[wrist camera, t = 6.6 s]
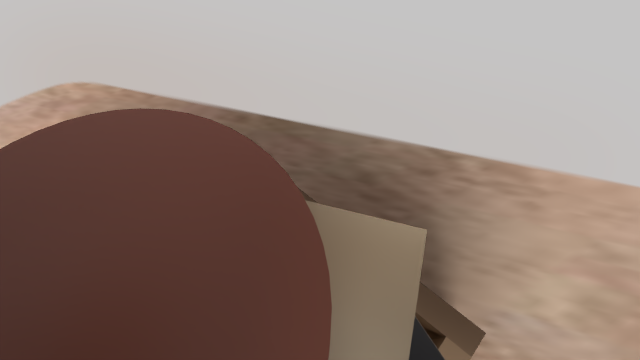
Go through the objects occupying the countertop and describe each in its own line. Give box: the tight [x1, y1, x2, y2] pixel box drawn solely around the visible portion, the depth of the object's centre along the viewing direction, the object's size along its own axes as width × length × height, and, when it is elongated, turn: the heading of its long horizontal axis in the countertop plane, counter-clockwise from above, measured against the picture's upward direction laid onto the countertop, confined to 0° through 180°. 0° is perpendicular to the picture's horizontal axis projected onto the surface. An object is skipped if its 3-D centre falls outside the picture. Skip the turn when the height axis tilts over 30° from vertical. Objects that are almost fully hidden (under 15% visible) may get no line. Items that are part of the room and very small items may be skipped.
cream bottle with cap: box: [0, 109, 427, 360], centre depth 8 cm, size 4×5×13 cm
